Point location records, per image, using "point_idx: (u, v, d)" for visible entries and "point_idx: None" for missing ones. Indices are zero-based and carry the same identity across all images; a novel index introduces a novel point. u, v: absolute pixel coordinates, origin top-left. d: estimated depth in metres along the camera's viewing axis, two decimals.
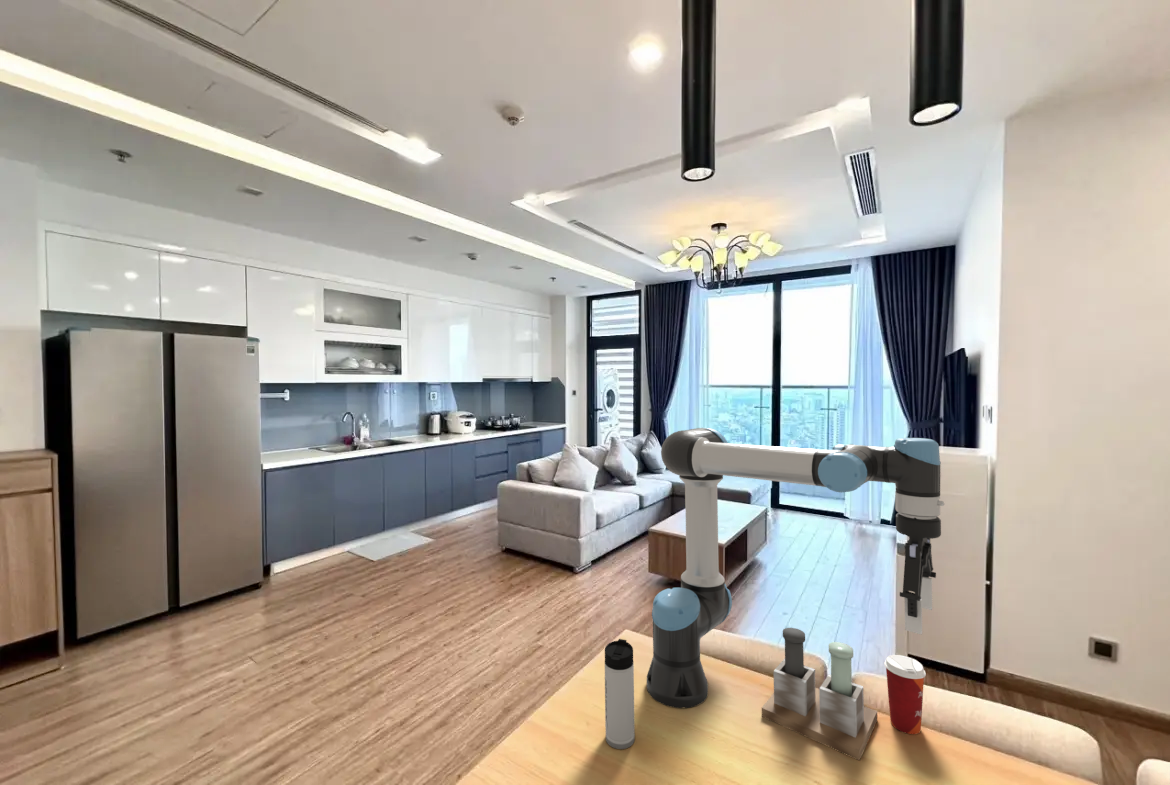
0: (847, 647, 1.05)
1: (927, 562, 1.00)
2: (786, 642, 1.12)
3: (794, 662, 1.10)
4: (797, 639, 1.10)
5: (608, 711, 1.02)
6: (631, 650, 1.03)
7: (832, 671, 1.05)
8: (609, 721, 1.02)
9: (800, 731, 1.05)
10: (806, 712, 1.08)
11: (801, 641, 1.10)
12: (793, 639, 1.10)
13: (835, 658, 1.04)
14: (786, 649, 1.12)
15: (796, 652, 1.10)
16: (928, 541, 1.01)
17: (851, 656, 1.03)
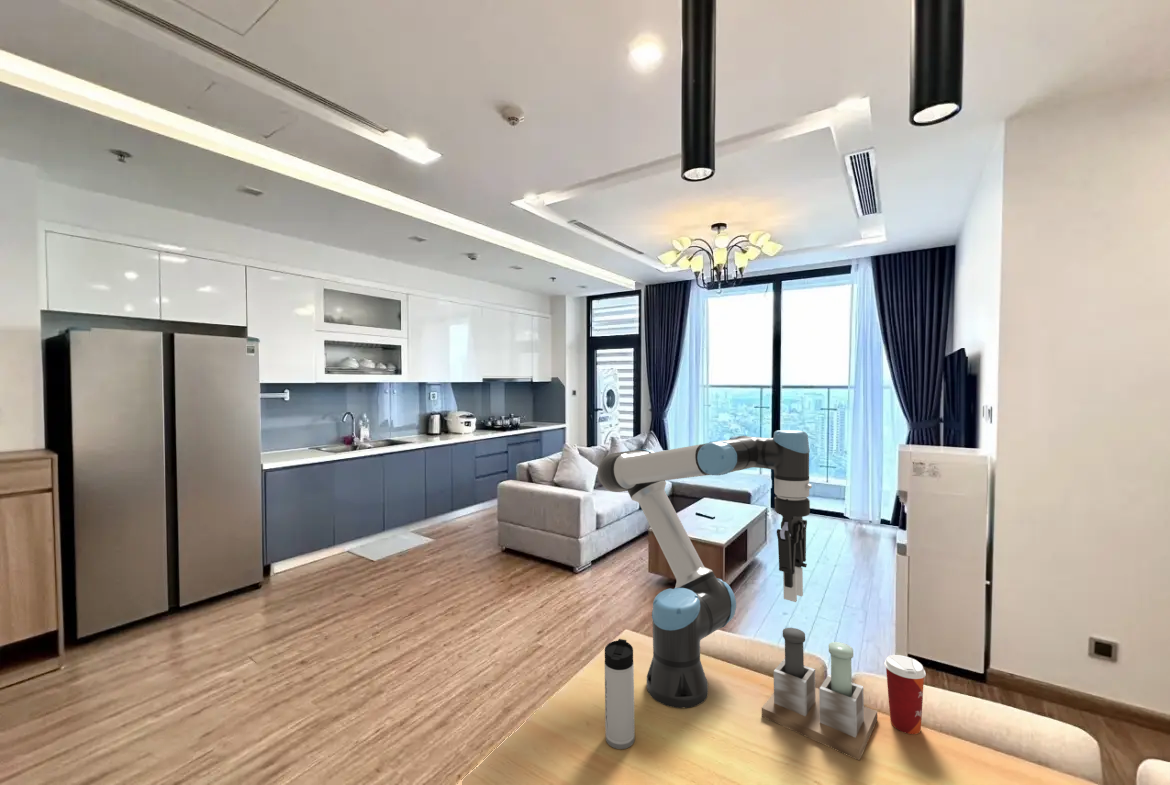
0: (847, 647, 1.05)
1: (799, 544, 1.12)
2: (786, 642, 1.12)
3: (794, 662, 1.10)
4: (797, 639, 1.10)
5: (608, 711, 1.02)
6: (631, 650, 1.03)
7: (832, 671, 1.05)
8: (609, 721, 1.02)
9: (800, 731, 1.05)
10: (806, 712, 1.08)
11: (801, 641, 1.10)
12: (793, 639, 1.10)
13: (835, 658, 1.04)
14: (786, 649, 1.12)
15: (796, 652, 1.10)
16: (803, 525, 1.15)
17: (851, 656, 1.03)
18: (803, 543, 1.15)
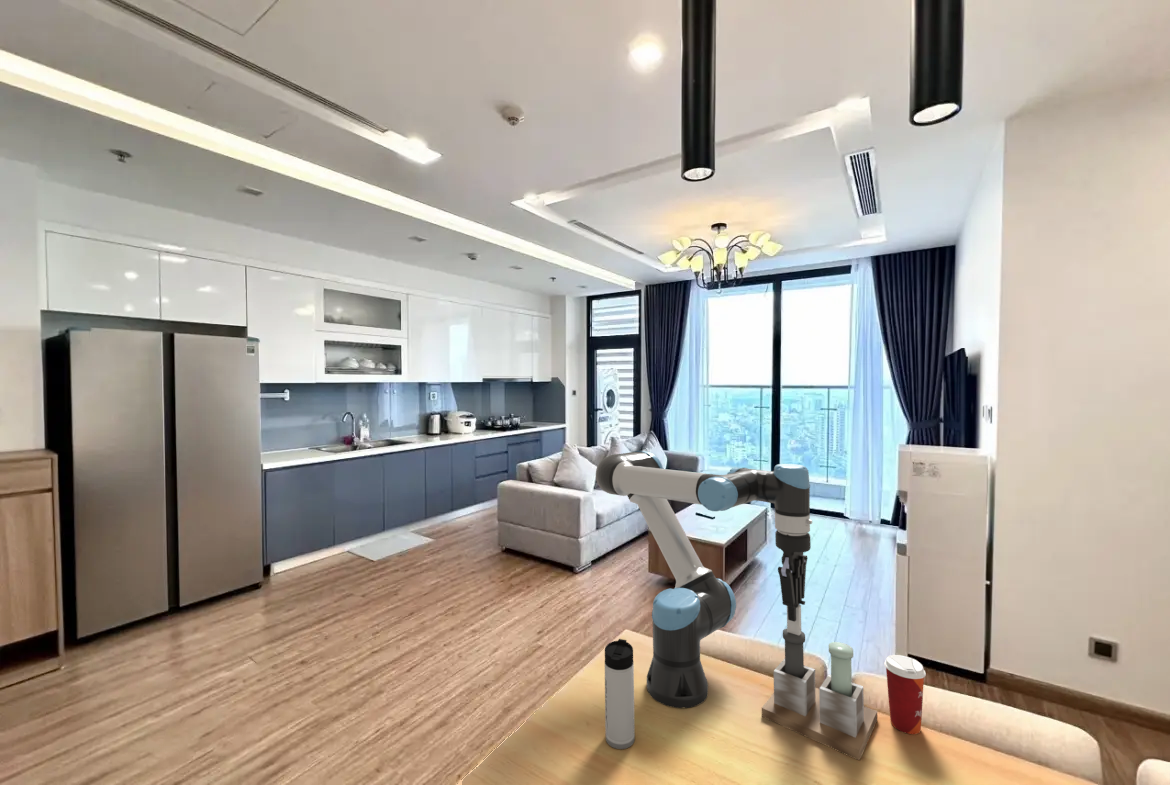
0: (847, 647, 1.05)
1: (798, 580, 1.12)
2: (786, 643, 1.12)
3: (794, 662, 1.10)
4: (797, 640, 1.10)
5: (608, 711, 1.02)
6: (631, 650, 1.03)
7: (832, 671, 1.05)
8: (609, 721, 1.02)
9: (800, 731, 1.05)
10: (806, 712, 1.08)
11: (801, 642, 1.10)
12: (793, 640, 1.10)
13: (835, 658, 1.04)
14: (786, 650, 1.12)
15: (796, 652, 1.10)
16: None
17: (851, 656, 1.03)
18: (802, 579, 1.14)
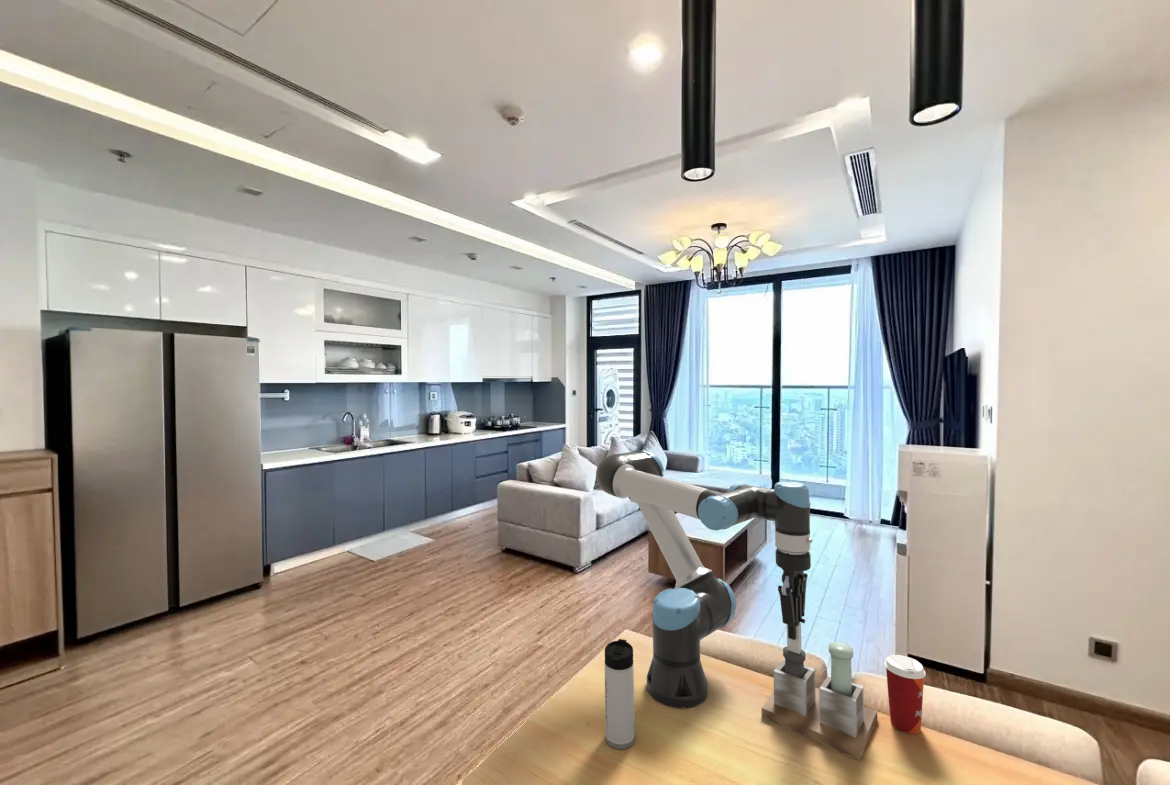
0: (847, 647, 1.05)
1: (799, 598, 1.12)
2: (786, 661, 1.12)
3: None
4: (797, 658, 1.10)
5: (608, 711, 1.02)
6: (631, 650, 1.03)
7: (832, 671, 1.05)
8: (609, 721, 1.02)
9: (800, 731, 1.05)
10: (806, 712, 1.08)
11: (801, 660, 1.10)
12: (793, 658, 1.10)
13: (835, 658, 1.04)
14: (786, 668, 1.12)
15: (796, 671, 1.10)
16: None
17: (851, 656, 1.03)
18: (802, 597, 1.14)
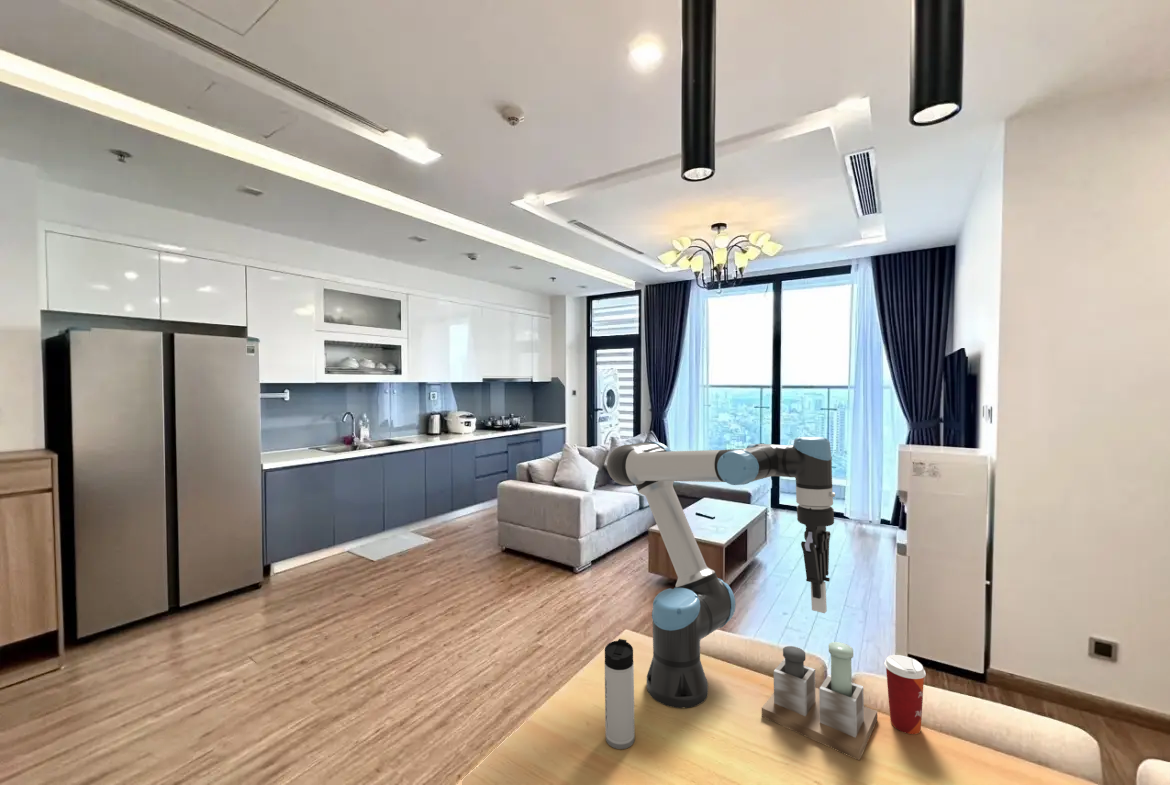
0: (847, 647, 1.05)
1: (822, 556, 1.08)
2: (786, 661, 1.12)
3: None
4: (797, 658, 1.10)
5: (608, 711, 1.02)
6: (631, 650, 1.03)
7: (832, 671, 1.05)
8: (609, 721, 1.02)
9: (800, 731, 1.05)
10: (806, 712, 1.08)
11: (801, 660, 1.10)
12: (793, 658, 1.10)
13: (835, 658, 1.04)
14: (786, 668, 1.12)
15: (796, 671, 1.10)
16: None
17: (851, 656, 1.03)
18: (826, 555, 1.10)
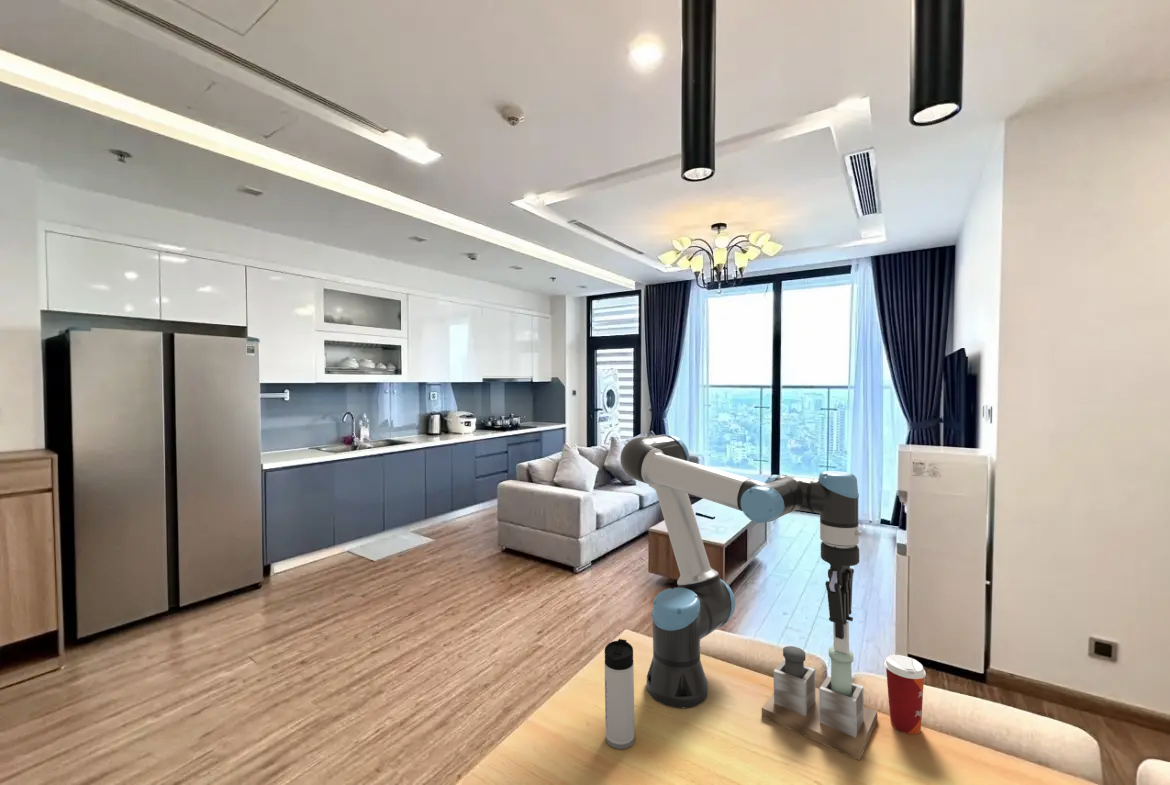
0: None
1: (846, 595, 1.05)
2: (786, 661, 1.12)
3: None
4: (797, 658, 1.10)
5: (608, 711, 1.02)
6: (631, 650, 1.03)
7: (832, 675, 1.05)
8: (609, 721, 1.02)
9: (800, 731, 1.05)
10: (806, 712, 1.08)
11: (801, 660, 1.10)
12: (793, 658, 1.10)
13: (835, 662, 1.04)
14: (786, 668, 1.12)
15: (796, 671, 1.10)
16: None
17: (851, 660, 1.03)
18: (849, 593, 1.07)
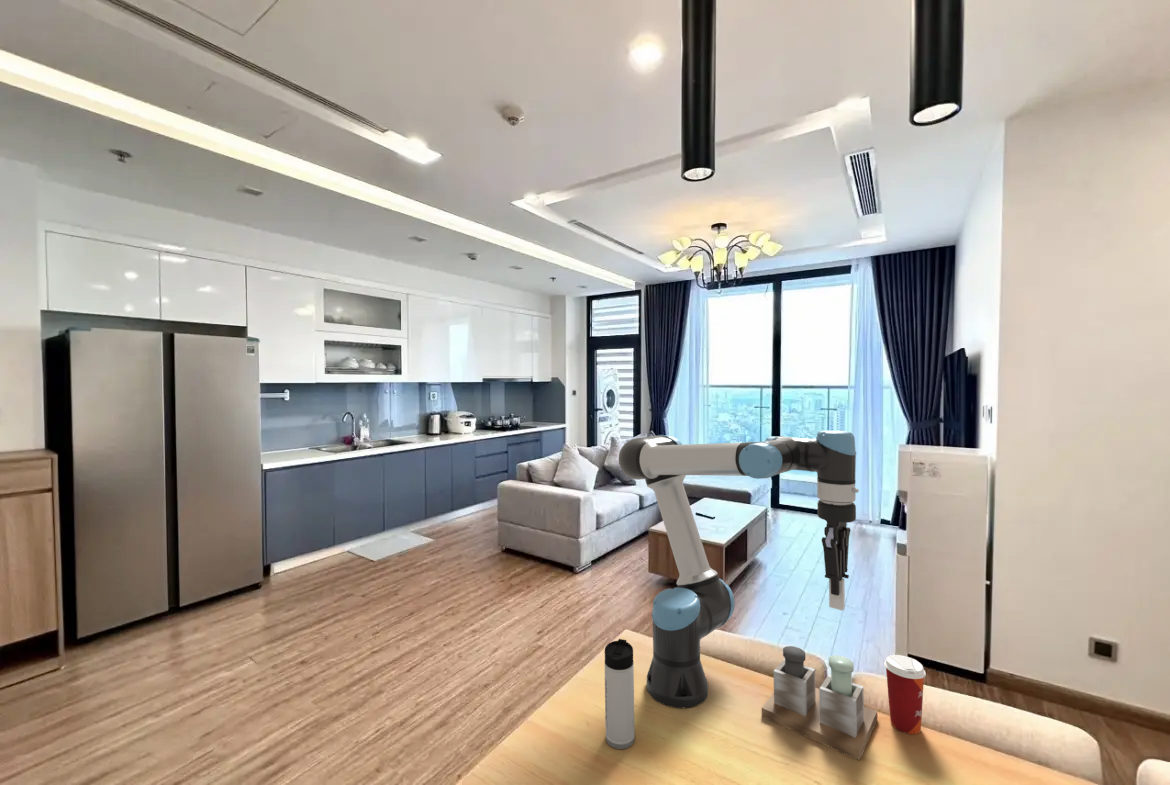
0: (847, 660, 1.05)
1: (842, 552, 1.06)
2: (786, 661, 1.12)
3: None
4: (797, 658, 1.10)
5: (608, 711, 1.02)
6: (631, 650, 1.03)
7: (832, 685, 1.05)
8: (609, 721, 1.02)
9: (800, 731, 1.05)
10: (806, 712, 1.08)
11: (801, 660, 1.10)
12: (793, 658, 1.10)
13: (836, 672, 1.04)
14: (786, 668, 1.12)
15: (796, 671, 1.10)
16: None
17: (851, 670, 1.03)
18: (845, 552, 1.08)
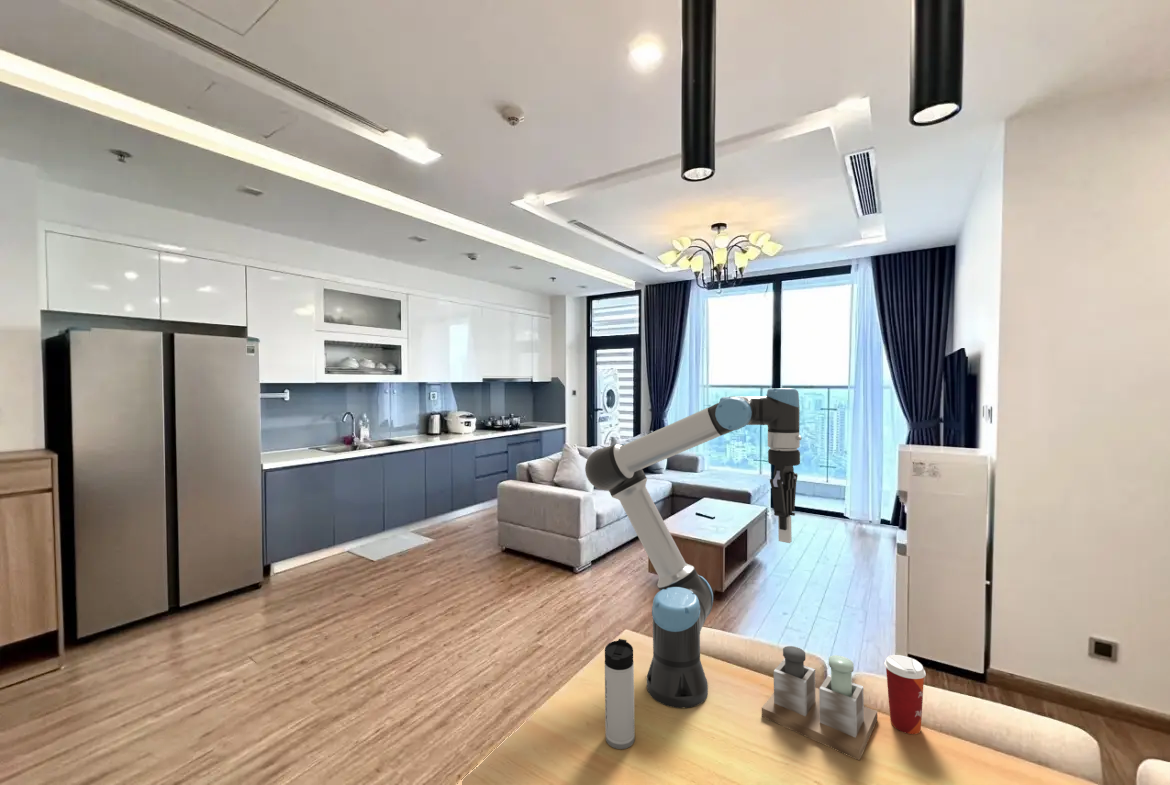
0: (847, 660, 1.05)
1: (789, 493, 1.22)
2: (786, 661, 1.12)
3: None
4: (797, 658, 1.10)
5: (608, 711, 1.02)
6: (631, 650, 1.03)
7: (832, 685, 1.05)
8: (609, 721, 1.02)
9: (800, 731, 1.05)
10: (806, 712, 1.08)
11: (801, 660, 1.10)
12: (793, 658, 1.10)
13: (836, 672, 1.04)
14: (786, 668, 1.12)
15: (796, 671, 1.10)
16: (794, 477, 1.24)
17: (851, 670, 1.03)
18: (793, 494, 1.24)
